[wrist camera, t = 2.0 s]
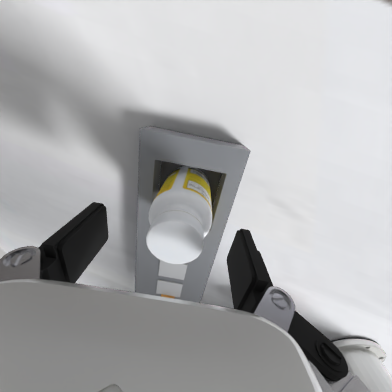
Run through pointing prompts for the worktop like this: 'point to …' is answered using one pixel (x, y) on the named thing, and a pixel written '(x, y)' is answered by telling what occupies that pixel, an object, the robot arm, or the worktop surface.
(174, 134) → the power strip
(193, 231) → the supplement bottle
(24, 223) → the worktop surface
